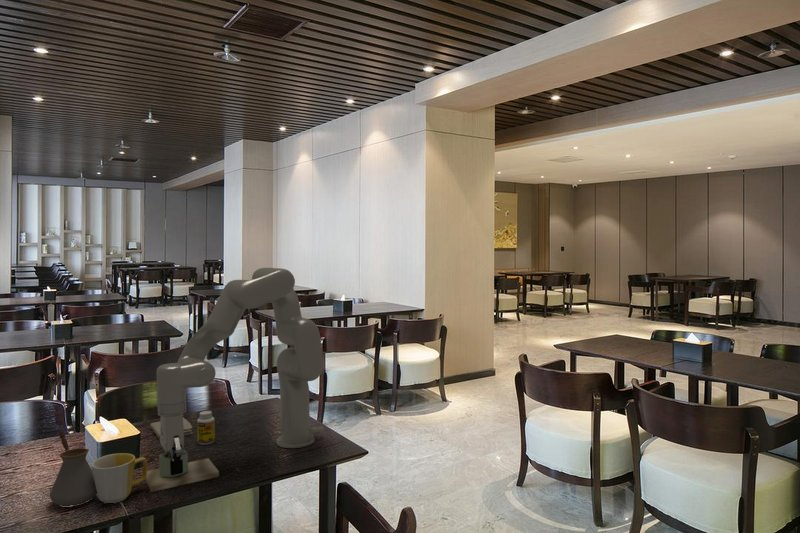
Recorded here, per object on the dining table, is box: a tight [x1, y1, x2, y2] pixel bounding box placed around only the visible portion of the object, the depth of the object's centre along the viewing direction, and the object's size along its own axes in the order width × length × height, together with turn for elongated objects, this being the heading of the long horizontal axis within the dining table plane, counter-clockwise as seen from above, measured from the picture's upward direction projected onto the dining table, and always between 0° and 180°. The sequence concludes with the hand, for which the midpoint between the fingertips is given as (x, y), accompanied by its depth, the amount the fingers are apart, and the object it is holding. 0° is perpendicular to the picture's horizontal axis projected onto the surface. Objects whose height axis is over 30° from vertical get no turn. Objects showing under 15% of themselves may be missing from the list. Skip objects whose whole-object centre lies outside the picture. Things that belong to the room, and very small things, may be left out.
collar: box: [158, 449, 189, 477], centre depth 162 cm, size 7×7×5 cm
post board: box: [144, 452, 220, 493], centre depth 163 cm, size 18×12×8 cm, turn 122°
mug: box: [90, 452, 148, 504], centre depth 150 cm, size 14×10×10 cm
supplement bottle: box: [196, 410, 216, 446], centre depth 191 cm, size 6×6×10 cm
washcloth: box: [149, 416, 194, 441], centre depth 203 cm, size 12×18×3 cm, turn 35°
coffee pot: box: [49, 430, 97, 506], centre depth 152 cm, size 21×12×15 cm, turn 42°
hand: (174, 468), depth 162 cm, fingers closed on collar, 7 cm apart
